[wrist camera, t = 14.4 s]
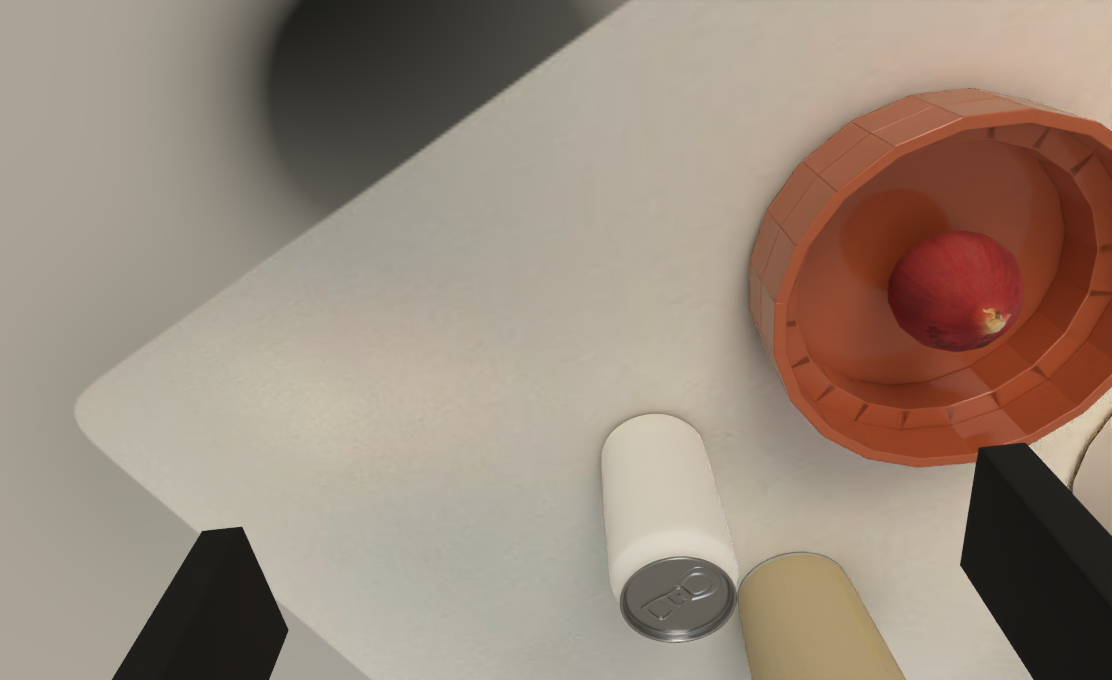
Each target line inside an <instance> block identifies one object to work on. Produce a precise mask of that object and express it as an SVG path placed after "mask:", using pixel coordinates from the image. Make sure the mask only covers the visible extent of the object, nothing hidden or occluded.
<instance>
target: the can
mask: <svg viewBox="0 0 1112 680" xmlns="http://www.w3.org/2000/svg"><path fill="white" fill-rule="evenodd" d="M601 471H602V487H603V502H604V516H605V530H606V544H607V557H608V569H609V578H610V584H611V589H612V592H613V594H614V596H615V598H616V600H617V601H618V603H619V604H620V609H621V613H622V615H623V617H624V619H625V621H626V622H627V623H628V625H629V626H630V627H631V628H632V629H634V630H635V631H636V632H638V633H639V634H641V635H643V636H645V637H647V638H650V639H653V640H657V641H661V642H670V643H680V642H688V641H693V640H697V639H700V638H703V637H705V636H708V635H710V634H712V633H713V632H715V631H717V630H718V629H719V628H721V627H722V626H723V625H724V624H725V623H726V622H727V621H728V620H729V618H730V617H731V615H732V614H733V612H734V609H735V607H736V602H737V592H736V586H737V582H738V565H737V560H736V556H735V552H734V548H733V544H732V541H731V537H730V534H729V530H728V526H727V523H726V519H725V516H724V512H723V509H722V505H721V502H720V498H719V495H718V491H717V488H716V484H715V481H714V477H713V474H712V470H711V467H710V463H709V460H708V457H707V453H706V450H705V447H704V444H703V441H702V439H701V437H700V435H699V434H698V432H697V431H696V430H695V429H694V428H693V427H691V426H690V425H689V424H687V423H686V422H684V421H682V420H680V419H678V418H676V417H673V416H669V415H664V414H648V415H642V416H638V417H635V418H632V419H630V420H628V421H626V422H624V423H622V424H621V425H619V426H618V427H617V428H616V429H615V430H614V431H613V432H612V433H611V434H610V435H609V436H608V438H607V440H606V441H605V443H604V446H603V449H602V454H601Z"/></svg>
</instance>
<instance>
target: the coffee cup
mask: <svg viewBox="0 0 1112 680" xmlns="http://www.w3.org/2000/svg"><path fill="white" fill-rule="evenodd" d="M738 603H739V610H740V617H741V623H742V629H743V635H744V640H745V646H746V651H747V657H748V663H749V668H750V674H751V679H752V680H906V679H905V677H904V675H903V673H902V671H901V670H900V668H899V666H898V664H897V662H896V660H895V659H894V657H893V655H892V653H891V651H890V650H889V648H888V646H887V644H886V643H885V641H884V639H883V637H882V636H881V634H880V632H879V630H878V628H877V627H876V625H875V623H874V621H873V620H872V618H871V616H870V614H869V612H868V611H867V609H866V607H865V605H864V604H863V602H862V600H861V598H860V596H859V595H858V593H857V591H856V589H855V588H854V586H853V584H852V583H851V581H850V580H849V578H848V576H847V575H846V573H845V572H844V571H843V569H842V568H841V567H840V566H839V565H838V564H837V563H835V562H834V561H832V560H830V559H829V558H827V557H824V556H821V555H818V554H813V553H803V552H800V553H789V554H783V555H780V556H777V557H774V558H771V559H769V560H767V561H765V562H763V563H761V564H760V565H758V566H757V567H755V568H754V569H753V570H752V571H751V572H750V573H749V574H748V575H747V577H746V578H745V579H744V581H743V583H742V585H741V587H740V590H739V596H738Z"/></svg>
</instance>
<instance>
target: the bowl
mask: <svg viewBox="0 0 1112 680" xmlns="http://www.w3.org/2000/svg"><path fill="white" fill-rule="evenodd" d="M767 210H768V211H767V212H766V215H765V218H764V221H763V224H762V226H761V229H760V232H759V235H758V238H757V241H756V244H755V247H754V250H753V253H752V256H751V259H750V261H751V262H750V312H751V315H752V317H753V320H754V323H755V325H756V328H757V330H758V333H759V336H760V338H761V341H762V344H763V346H764V349H765V351H766V353H767V355H768V357H769V359H770V361H771V363H772V365H773V367H774V369H775V371H776V373H777V375H778V377H779V379H780V381H781V383H782V385H783V387H784V389H785V391H786V393H787V395H788V397H789V399H790V400H791V402H792V403H793V404H794V405H795V406H796V408H797V409H798V410H799V411H800V412H801V413H802V414H803V415H804V416H805V417H806V418H807V420H808V421H809V422H810V423H811V424H812V425H813V426H814V427H815V428H816V429H817V430H818V431H819V433H820V434H821V435H823V436H824V437H825V438H827V439H829V440H831V441H833V442H835V443H837V444H839V445H841V446H843V447H845V448H847V449H849V450H851V451H853V452H855V453H857V454H859V455H861V456H863V457H865V458H867V459H871V460H877V461H883V462H888V463H894V464H900V465H906V466H912V467H931V466H942V465H953V464H965V463H974V462H976V461H977V454H978V448H979V447H986V446H996V445H1005V444H1014V443H1024V442H1025V443H1026V444H1027V445H1030V444H1031V443H1034V442H1036V441H1037V440H1039V439H1041V438H1042V437H1044V436H1046V435H1047V434H1049V433H1051V432H1052V431H1054V430H1056V429H1058V428H1059V427H1061V426H1063V425H1064V424H1066V423H1068V422H1069V421H1071V420H1073V419H1074V418H1076V417H1078V416H1079V415H1081V414H1083V413H1084V412H1085V411H1087V410H1088V409H1089V408H1090V407H1091V406H1092V405H1093V404H1094V403H1095V402H1096V401H1097V400H1098V399H1099V398H1100V397H1102V396H1103V395H1104V394H1105V393H1106V392H1107V391H1108V390H1109V389H1110V388H1111V387H1112V131H1111V130H1109V129H1108V128H1106V127H1105V126H1104V125H1102V124H1101V123H1099V122H1097V121H1093V120H1090V119H1087V118H1084V117H1081V116H1077V115H1074V114H1071V113H1068V112H1064V111H1061V110H1058V109H1055V108H1051V107H1048V106H1045V105H1042V104H1039V103H1035V102H1032V101H1029V100H1025V99H1021V98H1016V97H1011V96H1007V95H1002V94H997V93H993V92H988V91H983V90H979V89H972V88H968V89H960V90H952V91H943V92H935V93H927V94H919V95H911V96H908V97H906V98H903V99H901V100H899V101H896V102H894V103H892V104H890V105H887V106H885V107H883V108H880V109H878V110H876V111H874V112H871V113H869V114H867V115H864V116H862V117H860V118H857V119H855V120H853V121H851V122H850V123H849V124H847V125H846V126H845V127H844V128H842V129H841V130H840V131H839V132H838V133H836V134H835V135H834V136H833V137H831V138H830V139H829V140H828V141H826V142H825V143H824V144H823V145H821V146H820V147H819V148H818V149H817V150H815V151H814V152H813V153H812V154H810V155H809V156H808V157H807V158H805V159H804V160H803V161H802V162H801V163H800V164H799V165H798V167H797V168H796V170H795V171H794V172H793V174H792V175H791V177H790V178H789V179H788V181H787V182H786V184H785V185H784V187H783V188H782V189H781V191H780V192H779V194H778V195H777V196H776V198H775V199H774V201H773V202H772V203H771V205H770V206H769V208H768V209H767ZM957 230H964V231H970V232H975V233H981V234H984V235H986V236H988V237H991V238H992V239H994V240H995V241H996V242H998V243H999V244H1000V245H1002V246H1003V247H1005V248H1006V249H1007V250H1008V251H1009V252H1010V253H1011V254H1013V255H1014V257H1015V259H1016V262H1017V265H1018V267H1019V269H1020V272H1021V274H1022V277H1023V279H1024V304H1023V307H1022V309H1021V312H1020V314H1019V316H1018V319H1017V321H1016V322H1015V323H1014V324H1013V325H1012V326H1011V328H1010V329H1009V330H1008V331H1007V332H1006V333H1005V334H1004V335H1002V336H1001V337H999V338H997V339H996V340H994V341H993V342H992V343H990V344H989V345H987V346H985V347H983V348H979V349H973V350H968V351H963V352H951V351H946V350H941V349H936V348H931V347H928V346H924V345H922V344H921V343H920V342H918V341H917V340H915V339H914V338H913V337H912V336H910V335H909V334H908V333H907V332H905V331H904V330H903V329H902V328H900V327H899V325H898V323H897V321H896V319H895V317H894V315H893V312H892V310H891V308H890V305H889V303H888V281H889V279H890V276H891V274H892V272H893V270H894V268H895V266H896V263H897V261H898V260H899V258H901V257H902V256H903V255H904V254H905V253H906V252H907V251H908V250H909V249H910V248H911V247H912V246H913V245H915V244H917V243H919V242H921V241H923V240H924V239H926V238H928V237H930V236H932V235H936V234H941V233H946V232H952V231H957Z"/></svg>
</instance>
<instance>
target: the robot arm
mask: <svg viewBox="0 0 1112 680" xmlns="http://www.w3.org/2000/svg"><path fill="white" fill-rule="evenodd" d="M960 566H961V567H962V569H963V570H964V572H965V573H966V575H967V577H968V578H969V580H970V581H971V583H972V584H973V586H974V587H975V589H976V591H977V592H978V594H979V595H980V597H981V598H982V600H983V601H984V603H985V605H986V606H987V608H988V609H989V611H990V612H991V614H992V615H993V617H994V619H995V620H996V622H997V623H998V625H999V626H1000V628H1001V630H1002V631H1003V633H1004V634H1005V636H1006V637H1007V639H1008V640H1009V642H1010V644H1011V645H1012V647H1013V648H1014V650H1015V651H1016V653H1017V654H1018V656H1019V658H1020V659H1021V661H1022V662H1023V664H1024V665H1025V667H1026V668H1027V670H1028V672H1029V673H1030V675H1031V676H1032V678H1033V679H1034V680H1112V536H1111V534H1110V533H1109V532H1108V531H1107V530H1106V529H1105V528H1104V527H1103V526H1102V525H1101V524H1100V523H1099V522H1098V520H1097V519H1096V518H1095V517H1094V516H1093V515H1092V514H1091V513H1090V512H1089V511H1088V510H1087V509H1086V508H1085V506H1084V505H1083V504H1082V503H1081V502H1080V501H1079V500H1078V499H1077V498H1076V497H1075V496H1074V495H1073V494H1072V492H1071V491H1070V490H1069V489H1068V488H1067V487H1066V486H1065V485H1064V484H1063V483H1062V482H1061V481H1060V480H1059V478H1058V477H1057V476H1056V475H1055V474H1054V473H1053V472H1052V471H1051V470H1050V469H1049V468H1048V467H1047V466H1046V464H1045V463H1044V462H1043V461H1042V460H1041V459H1040V458H1039V457H1038V456H1037V455H1036V454H1035V453H1034V452H1033V450H1032V449H1031V448H1030V447H1029V446H1028V445H1027V444H1026V443H1025V442H1024V443H1014V444H1005V445H996V446H986V447H979V448H978V454H977V461H976V467H975V474H974V480H973V486H972V493H971V499H970V505H969V512H968V518H967V525H966V531H965V537H964V544H963V550H962V556H961V563H960ZM287 633H288V628H287V626H286V623H285V621H284V619H283V617H282V614H281V612H280V610H279V608H278V605H277V603H276V601H275V599H274V597H273V594H272V592H271V590H270V588H269V585H268V583H267V581H266V579H265V577H264V574H263V572H262V570H261V568H260V565H259V563H258V561H257V559H256V557H255V554H254V552H253V550H252V548H251V545H250V543H249V541H248V539H247V536H246V534H245V532H244V530H243V528H242V527H235V528H226V529H216V530H207V531H202V532H201V534H200V536H199V537H198V539H197V541H196V542H195V544H194V546H193V547H192V549H191V550H190V552H189V554H188V555H187V557H186V559H185V560H184V562H183V564H182V565H181V567H180V569H179V570H178V572H177V573H176V575H175V577H174V578H173V580H172V582H171V583H170V585H169V587H168V588H167V590H166V591H165V593H164V595H163V597H162V598H161V600H160V601H159V603H158V605H157V606H156V608H155V610H154V611H153V613H152V615H151V616H150V618H149V619H148V621H147V623H146V625H145V626H144V628H143V629H142V631H141V633H140V634H139V636H138V638H137V639H136V641H135V642H134V644H133V646H132V647H131V649H130V651H129V652H128V654H127V656H126V657H125V659H124V661H123V662H122V664H121V666H120V667H119V669H118V670H117V672H116V674H115V675H114V677H113V679H112V680H269V678H270V676H271V673H272V671H273V668H274V666H275V663H276V661H277V658H278V656H279V653H280V651H281V648H282V646H283V643H284V641H285V638H286V635H287Z"/></svg>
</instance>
